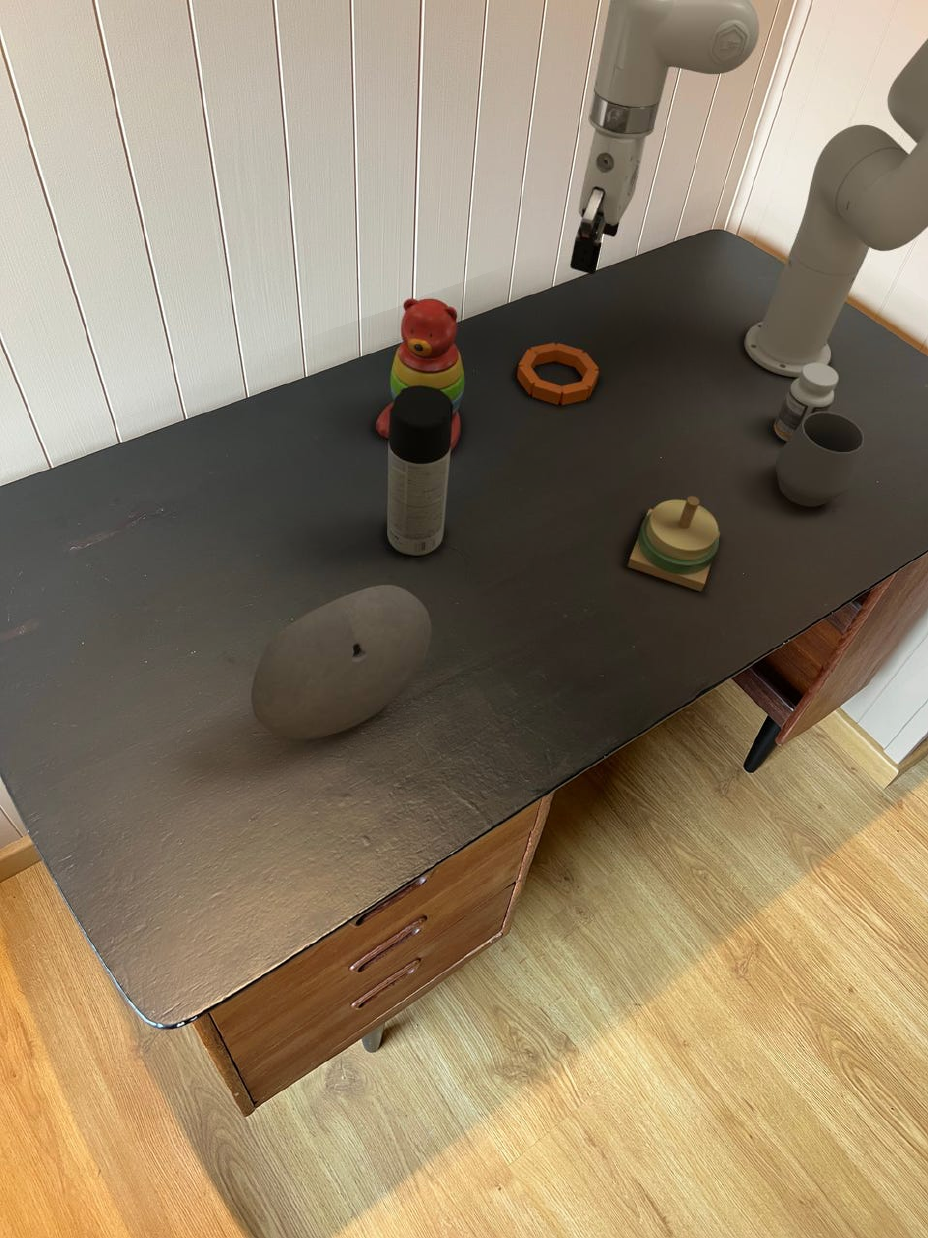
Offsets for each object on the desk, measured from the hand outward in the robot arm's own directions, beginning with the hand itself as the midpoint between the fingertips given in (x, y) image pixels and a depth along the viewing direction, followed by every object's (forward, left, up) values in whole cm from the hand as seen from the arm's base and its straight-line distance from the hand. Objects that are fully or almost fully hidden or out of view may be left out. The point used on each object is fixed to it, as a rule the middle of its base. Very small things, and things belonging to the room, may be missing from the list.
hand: (593, 250), depth 116 cm
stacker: (+28, +22, -18) cm, 40 cm away
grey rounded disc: (+65, -3, -18) cm, 67 cm away
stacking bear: (+20, -14, -18) cm, 31 cm away
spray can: (+39, -7, -18) cm, 44 cm away
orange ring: (+3, -1, -18) cm, 18 cm away
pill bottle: (-1, +32, -18) cm, 37 cm away
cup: (+10, +35, -18) cm, 41 cm away
